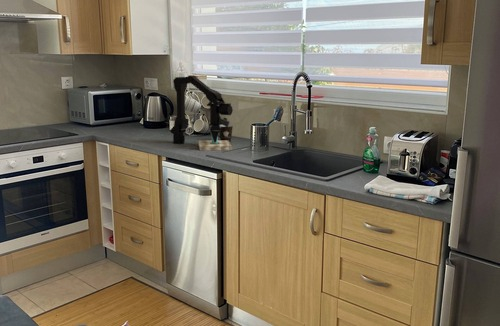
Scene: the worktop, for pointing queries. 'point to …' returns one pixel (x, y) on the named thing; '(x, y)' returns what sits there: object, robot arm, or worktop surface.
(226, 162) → the worktop surface
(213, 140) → the peg
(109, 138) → the worktop surface
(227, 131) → the coffee mug
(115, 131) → the worktop surface
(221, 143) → the keyhole board
